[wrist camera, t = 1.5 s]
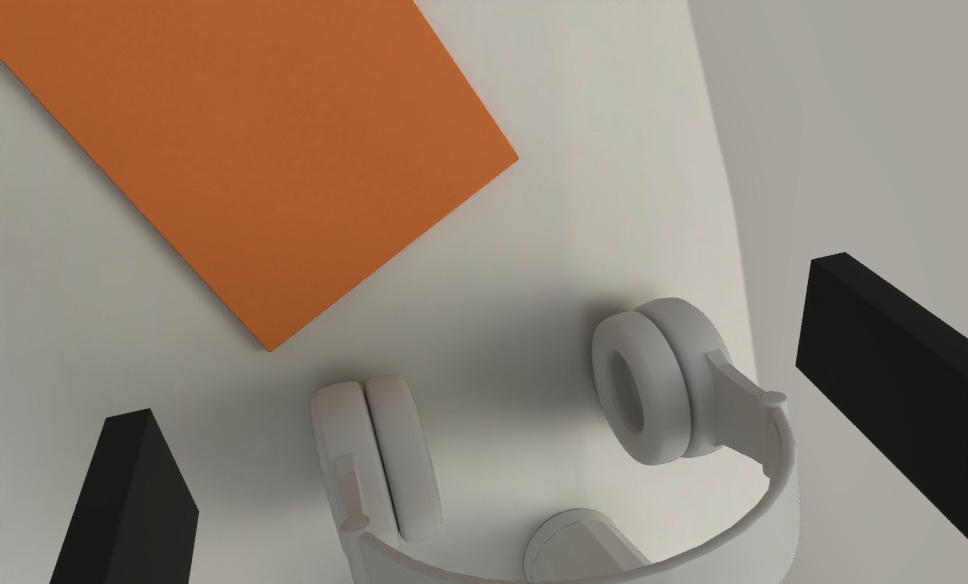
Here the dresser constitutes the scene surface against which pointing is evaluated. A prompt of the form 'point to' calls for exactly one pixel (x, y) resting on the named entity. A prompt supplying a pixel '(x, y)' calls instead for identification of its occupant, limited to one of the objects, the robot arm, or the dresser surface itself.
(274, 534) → the dresser surface
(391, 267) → the dresser surface
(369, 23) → the orange rectangular board
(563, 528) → the cup
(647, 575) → the headphones
